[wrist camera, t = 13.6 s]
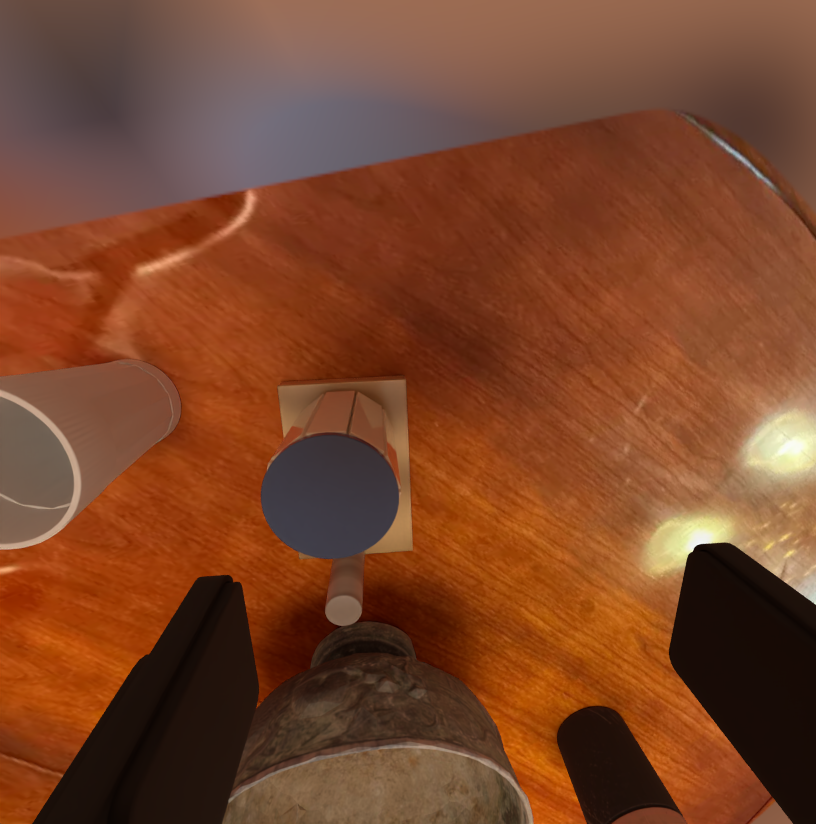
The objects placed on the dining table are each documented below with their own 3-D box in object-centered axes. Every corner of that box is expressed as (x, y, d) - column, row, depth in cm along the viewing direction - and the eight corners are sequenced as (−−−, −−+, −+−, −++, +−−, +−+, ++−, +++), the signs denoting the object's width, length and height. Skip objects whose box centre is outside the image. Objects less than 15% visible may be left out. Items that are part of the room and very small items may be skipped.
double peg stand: (281, 381, 30) (227, 431, 19) (404, 375, 31) (420, 420, 20) (302, 548, 34) (267, 670, 23) (411, 540, 35) (428, 655, 24)
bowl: (511, 611, 37) (596, 810, 23) (416, 759, 42) (438, 1007, 27) (305, 535, 34) (253, 714, 19) (224, 706, 38) (131, 959, 23)
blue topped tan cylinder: (288, 394, 27) (248, 439, 19) (391, 388, 28) (398, 430, 19) (299, 484, 29) (267, 564, 21) (396, 478, 30) (404, 553, 21)
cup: (213, 429, 31) (116, 510, 19) (117, 470, 31) (-35, 574, 20) (154, 329, 29) (4, 352, 17) (51, 374, 29) (-165, 427, 17)
